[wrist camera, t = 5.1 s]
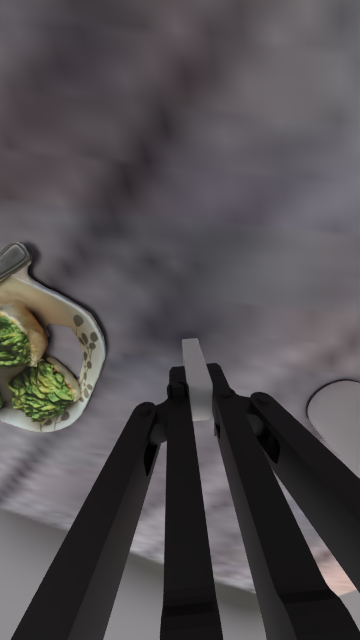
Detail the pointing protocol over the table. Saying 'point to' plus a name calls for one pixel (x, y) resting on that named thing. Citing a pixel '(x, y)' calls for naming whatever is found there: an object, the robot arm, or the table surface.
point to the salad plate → (41, 350)
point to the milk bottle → (339, 420)
